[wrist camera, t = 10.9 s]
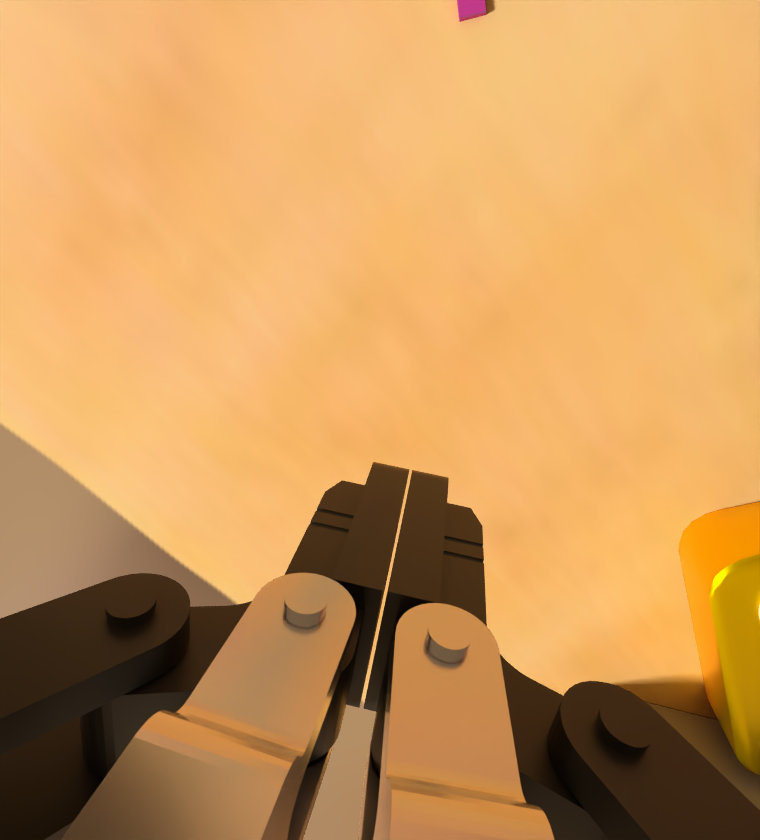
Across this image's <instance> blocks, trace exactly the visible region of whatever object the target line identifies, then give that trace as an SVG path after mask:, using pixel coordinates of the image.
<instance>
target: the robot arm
mask: <svg viewBox="0 0 760 840" xmlns="http://www.w3.org/2000/svg"><path fill="white" fill-rule="evenodd" d="M408 474H409V469H404V468H399V467H395V466H390V465H385V464H381V463H376V462H374V463H373V465H372V467H371V470H370V473H369V476H368V479H367V481H366V484H365V485H360V484H356V483H351V482H346V481H341V482H339V483H338V484H336V485H335V486H333V487H332V488H330V489H329V490H327V491H326V492H325V493H324V495H323V497H322V499H321V501H320V504H319V506H318V508H317V511H316V512H315V514H314V516H313V518H312V520H311V523H310V525H309V526H308V528H307V530H306V532H305V534H304V536H303V538H302V540H301V542H300V544H299V546H298V548H297V551H296V553H295V555H294V557H293V559H292V561H291V563H290V565H289V567H288V569H287V571H286V573H285V575H284V576H281V577H278V578H276V579H274V580H272V581H270V582H269V583H267V584H266V585H265V586H264V587H262V588H261V590H260V591H259V592H258V593H257V595H256V596H255V598H254V599H253V601H251V602H247V603H244V604H238V605H231V606H205V607H190V599H189V596H188V594H187V592H186V590H185V589H184V588H183V587H182V586H181V585H180V584H179V583H177V582H176V581H175V580H172V579H170V578H168V577H165V576H162V575H156V574H145V573H140V574H130V575H125V576H120V577H117V578H114V579H111V580H108V581H105V582H102V583H99V584H96V585H94V586H91V587H88V588H85V589H82V590H79V591H77V592H74V593H72V594H68V595H66V596H63V597H60V598H57V599H54V600H52V601H49V602H46V603H43V604H40V605H37V606H34V607H32V608H29V609H26V610H23V611H20V612H18V613H15V614H12V615H9V616H7V617H4V618H1V619H0V840H303V838H304V835H305V831H306V829H307V826H308V823H309V820H310V817H311V813H312V811H313V808H314V805H315V801H316V798H317V796H318V792H319V789H320V786H321V783H322V780H323V777H324V774H325V771H326V768H327V765H328V762H329V759H330V756H331V751H332V746H333V744H334V743H335V741H336V739H337V737H338V735H339V731H340V728H341V724H342V720H343V715H344V711H345V707H346V704H347V705H351V706H355V707H360V702H361V697H362V693H363V688H364V683H365V679H366V674H367V669H368V665H369V660H370V655H371V651H372V646H373V641H374V637H375V632H376V627H377V623H378V618H379V613H380V609H381V604H382V599H383V595H384V590H385V585H386V581H387V576H388V571H389V567H390V562H391V557H392V552H393V547H394V543H395V538H396V533H397V528H398V523H399V518H400V513H401V508H402V503H403V498H404V493H405V488H406V484H407V479H408ZM447 495H448V478H447V477H442V476H438V475H433V474H428V473H424V472H419V471H414V470H412V475H411V480H410V485H409V490H408V495H407V500H406V504H405V509H404V514H403V519H402V524H401V529H400V534H399V538H398V543H397V548H396V553H395V558H394V563H393V568H392V572H391V577H390V582H389V587H388V592H387V597H386V602H385V607H384V611H383V616H382V621H381V626H380V631H379V636H378V641H377V646H376V650H375V655H374V660H373V665H372V670H371V675H370V680H369V684H368V689H367V694H366V699H365V704H364V709H368V710H372V711H376V718H375V723H374V729H373V734H372V740H371V744H370V748H369V753H368V757H367V762H366V768H365V778H364V788H363V797H362V807H361V817H360V826H359V836H358V840H760V810H759V809H758V808H757V807H756V806H755V805H754V804H753V803H752V802H751V801H750V800H749V799H747V798H746V797H745V796H744V795H743V794H742V793H741V792H740V791H739V790H738V789H737V788H736V787H735V786H734V785H733V784H732V783H731V782H730V781H729V780H728V779H727V778H726V777H725V776H723V775H722V774H721V773H720V772H719V771H718V770H717V769H716V768H715V767H714V766H713V765H712V764H711V763H710V762H709V761H708V760H707V759H706V758H705V757H704V756H703V755H702V754H701V753H699V752H698V751H697V750H696V749H695V748H694V747H693V746H692V745H691V744H690V743H689V742H688V741H687V740H686V739H685V738H684V737H683V736H682V735H681V734H680V733H679V732H678V731H677V730H675V729H674V728H673V727H672V726H671V725H670V724H669V723H668V722H667V721H666V720H665V719H664V718H663V717H662V716H661V715H660V714H659V713H658V712H657V711H656V710H654V709H653V708H652V707H651V706H650V705H649V704H647V703H646V702H645V701H643V700H642V699H640V698H639V697H638V696H636V695H634V694H632V693H631V692H629V691H627V690H625V689H623V688H620V687H618V686H615V685H612V684H609V683H604V682H598V681H587V682H581V683H578V684H575V685H574V686H572V687H571V688H569V689H568V691H567V692H566V693H565V694H564V696H563V695H561V694H559V693H557V692H555V691H553V690H551V689H549V688H547V687H545V686H544V685H542V684H540V683H538V682H536V681H534V680H532V679H530V678H529V677H527V676H525V675H523V674H522V673H520V672H519V671H518V670H516V669H515V668H514V667H513V666H511V665H510V664H509V663H508V662H507V661H506V660H505V659H504V658H503V657H502V656H501V655H500V653H499V648H498V644H497V642H496V640H495V638H494V636H493V634H492V633H491V631H490V630H489V629H488V628H487V624H486V602H485V579H484V563H483V560H484V556H483V548H482V547H483V533H482V525H481V523H480V522H479V520H478V519H477V517H476V516H475V514H474V513H473V511H472V509H471V508H467V507H463V506H458V505H454V504H449V503H447Z"/></svg>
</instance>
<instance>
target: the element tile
mask: <svg viewBox="0 0 760 840" xmlns="http://www.w3.org/2000/svg"><path fill="white" fill-rule="evenodd" d="M679 555H680V560H681V566H682V571H683V576H684V581H685V586H686V592H687V597H688V602H689V607H690V612H691V618H692V623H693V628H694V633H695V638H696V644H697V649H698V654H699V659H700V664H701V670H702V675H703V680H704V685H705V690H706V695H707V698H708V700H709V702H710V704H711V706H712V708H713V710H714V712H715V714H716V716H717V718H718V720H719V722H720V724H721V726H722V728H723V730H724V733H725V735H726V737H727V739H728V741H729V743H730V745H731V747H732V749H733V751H734V753H735V755H736V757H737V759H738V760H739V761H740V762H741V763H742V764H743V766H744V767H745V768H746V769H747V770H749V771H751V772H753V773H755V774H758V775H760V502H755V503H750V504H745V505H740V506H736V507H731V508H726V509H721V510H717V511H714V512H711V513H708V514H705V515H703V516H701V517H699V518H698V519H696V520H694V521H692V522H691V523H690V524H689V526H688V527H687V528H686V529H685V530H684V531H683V533H682V536H681V539H680V542H679Z"/></svg>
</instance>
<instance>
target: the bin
mask: <svg viewBox="0 0 760 840" xmlns="http://www.w3.org/2000/svg"><path fill="white" fill-rule="evenodd" d="M646 703H647V702H646ZM647 704H649V705H650V706H651V707H652V708H653V709H654V710H656V711H657V712H658V713H659V714H660V715H661V716H662V717H663V718H664V719H665V720H666V721H667V722H668V723H669V724H670V725H671V726H672V727H673V728H674V729H675V730H677V731H678V732H679V733H680V734H681V735H682V736H683V737H684V738H685V739H686V740H687V741H688V742H689V743H690V744H691V745H692V746H693V747H694V748H695V749H696V750H697V751H698V752H699V753H701V754H702V755H703V756H704V757H705V758H706V759H707V760H708V761H709V762H710V763H711V764H712V765H713V766H714V767H715V768H716V769H717V770H718V771H719V772H720V773H721V774H722V775H723V776H725V777H726V778H727V779H728V780H729V781H730V782H731V783H732V784H733V785H734V786H735V787H736V788H737V789H738V790H739V791H740V792H741V793H742V794H743V795H744V796H745V797H746V798H747V799H749V800H750V801H751V802H752V803H753V804H754V805H755V806H756V807H757V808H758V809H759V810H760V775H758V774H755V773H753V772H751V771H749V770H747V769H746V768H745V767H744V766H743V764H742V763H741V762H740V761H739V760H738V759H737V757H736V755H735V753H734V751H733V749H732V747H731V745H730V743H729V741H728V739H727V737H726V735H725V733H724V730H723V728H722V726H721V724H720V722H719V720H715V719H711V718H707V717H703V716H699V715H695V714H691V713H687V712H683V711H679V710H675V709H671V708H667V707H663V706H659V705H655V704H651V703H647Z"/></svg>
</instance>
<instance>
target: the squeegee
mask: <svg viewBox="0 0 760 840" xmlns="http://www.w3.org/2000/svg"><path fill="white" fill-rule="evenodd" d="M457 3H458V12H459V21H464V20H468V19H472V18H476V17H479V16H483V15H486V5H485V0H457Z"/></svg>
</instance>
